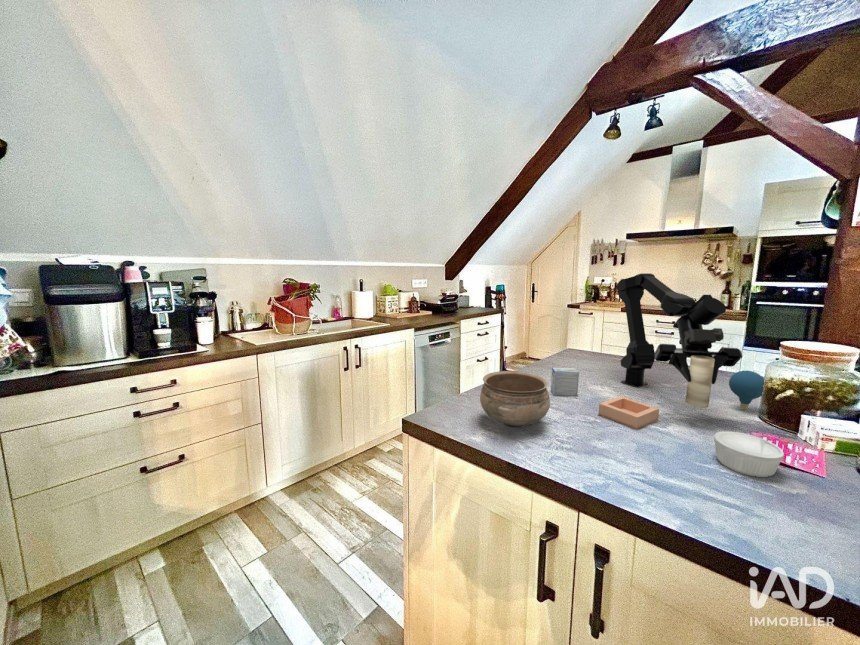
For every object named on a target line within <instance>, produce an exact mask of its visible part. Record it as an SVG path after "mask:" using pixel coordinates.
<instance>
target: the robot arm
mask: <svg viewBox="0 0 860 645" xmlns="http://www.w3.org/2000/svg"><path fill="white" fill-rule="evenodd" d="M616 290H617V294H618V297H619V299H620V300H621V301H622V303H624V306H625V313H626V314H625V315H626V320H627V321H626V322H627V328H628V330H627V331H628V335H629V343H628V345H627V347H626V349H625V352H626V355H624V356H623V357H622V358H621V359H620V366H621V367H622V368H625V369H626V370H625V377H624V378H625V379H624V380H621V381H620V383H621V384H624V385H629V386H630V387H636V388H641V387H644V386H647V385H649V383H648V382H645V372H646V371H645V370H651V369H652V367H653V365H654V363H655V361H656V362H665V363H668V365H672V366H673V367H674V368H675V369H676V370H677V371H678V372H679V373H680V374H681V375H682V377H684V379H685V380H686V381H687V383H688V382H690V381H691V375H690V371H689V368H690V367H689V365H688V359H689V358H690V359H691V356H692V355H701V356H708V357H712V358H714V359H715V361H714V368H713V376H712V383H711V385H715V384H716V382H717V378H718V373H719V369H721V368H722V367H730V368H731V367H735V366H736V364H737V363H738V362H740V360H741V359H742V358H743V354H742V350H740V349H739V348H738V347H724V346H723V347H721V348H720V349H719V350H718V351H710V350H709V349H712V347H713V345H712V344H714V343H716V342H721V341H723V340H724V338H725V337H724V336H725V334H724V331H723V329H722V328H719V327H718V328H717V327H715V328H712V329H703V326H708V325H711V323H712V322H714V321H715V320H717V319H718V318H719V317H721V316H722V315H723V314H724V313H726V311H727V308H726V305H725V303H723V302H722V301H720V300H719V299H718V298H715V297H713V296H712V294H702V296H700V297H699V299H697V301H696V300H695V299H694V298H693V297H691V296H689V295H687V294H684V293H679V292H677V291H674V290H673V289H671V288H670V287H669V286H668V285H666V284H665V283H664V282H662V281H661V280H660V279H658V278H657V277H656V276H655V274H653V273H648V272H647V273H646V272H645V273H644V272H643V273H638V274H636V275H633V276H631V277H626V278H621V279H619V281H618V282H617V283H616ZM645 291H646V292H648V293H649V294H650V295H652V296H653V297H654V298H655V299H656V300H657V301H658V302H659V303H660V308H661V309H662V311H663V312H664V313H665V314H666V315H667V316H668V317H678V318H677V320H676V321H675V322H674V323H673V325H672V328H675V329H678V334H679V345H681V347H679V348H678V347H677V344H674V343H673V344H671V343H660V344H658V345H657V347H656V350H655V346H654V344H653V343H649V342H648V341H647V338H646V332H645V324H644V318H643V312H642V305H641V300H642V298H643V296H644V294H645Z"/></svg>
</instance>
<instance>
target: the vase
mask: <svg viewBox="0 0 860 645" xmlns="http://www.w3.org/2000/svg"><path fill="white" fill-rule="evenodd" d="M714 361H715V359H714V358H712V357H708V356H701V355H692V356H691V358H690V359H689V367H688V368H689V371H690V375H691V381H690V382H688V381H687V386H686V387H687V388H686V394H685V403H686V405H688V406H691V407H694V408H701V409H702V408H704V409H706V408H709V405H710V399H711V398H710V397H711V390H712V376H713V368H714Z"/></svg>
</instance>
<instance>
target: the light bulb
mask: <svg viewBox="0 0 860 645" xmlns="http://www.w3.org/2000/svg"><path fill="white" fill-rule="evenodd" d="M764 380H765V381H766V379H765V378H764V377H763V376H762V375H761V374H759V373H758V372H755V371H752V370H740V371H737V372H735V373H733V374H732V375H731V377H730V378H729V381H728V386H729V389H730V390H731V392H732V393H733V394H735V396H736V397H737V398H738V402H739V403H740V404H739V408H740V409H741V410H745V411H746V410H748V409H749V407H750V406H749V405H750V404H751V402H752V401H753V400H755V399H759V398H761V397H763V395H762V392H763V385H764Z"/></svg>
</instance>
